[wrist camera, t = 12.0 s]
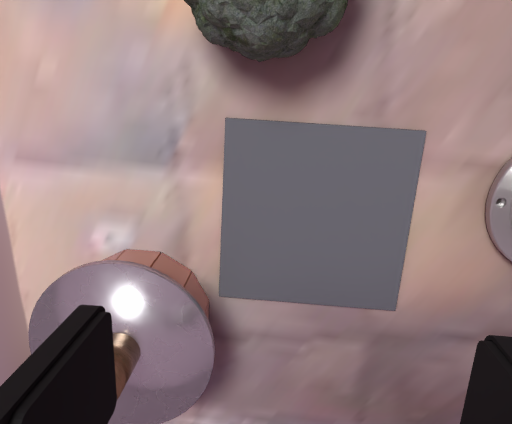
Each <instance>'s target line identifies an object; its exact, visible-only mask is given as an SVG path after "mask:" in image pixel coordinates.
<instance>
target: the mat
mask: <svg viewBox="0 0 512 424" xmlns="http://www.w3.org/2000/svg"><path fill="white" fill-rule="evenodd" d="M425 136H426V131H422V130H407V129H392V128H376V127H361V126H345V125H330V124H314V123H299V122H283V121H268V120H252V119H237V118H225V145H224V172H223V199H222V226H221V253H220V280H219V296H222V297H234V298H246V299H258V300H270V301H282V302H295V303H307V304H319V305H331V306H343V307H355V308H367V309H379V310H392V311H395V310H396V304H397V298H398V292H399V287H400V281H401V275H402V269H403V263H404V258H405V252H406V246H407V240H408V235H409V229H410V223H411V217H412V211H413V206H414V200H415V194H416V188H417V183H418V177H419V171H420V165H421V159H422V154H423V148H424V142H425Z"/></svg>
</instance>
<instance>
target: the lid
mask: <svg viewBox="0 0 512 424" xmlns="http://www.w3.org/2000/svg"><path fill="white" fill-rule="evenodd" d="M79 305H95V306H103V307H104V308H105V312H109V313H110V314H111V317H112V331H113V346H114V361H115V376H116V391H117V402H116V407H115V410H114V413H113V415H112V417H111V418H110V420H109V422H108V424H160V423H163V422H166V421H169V420H171V419H173V418H175V417H177V416H179V415H180V414H182V413H183V412H185V411H186V410H188V409H189V408H190V407H191V406H192V405H193V404H194V403H195V402H196V401H197V400H198V399H199V398H200V396H201V395H202V393H203V392H204V390H205V389H206V386H207V384H208V382H209V380H210V376H211V373H212V369H213V365H214V358H215V342H214V337H213V332H212V329H211V326H210V323H209V320H208V319H207V317H206V315H205V313H204V311H203V309H202V308H201V306H200V305H199V303H198V302H197V300H196V299H195V298H194V297H193V296H192V295H191V294H190V293H189V292H188V291H187V290H186V289H185V288H184V287H183V286H182V285H181V284H179V283H178V282H177V281H175V280H174V279H172V278H171V277H169V276H168V275H166V274H164V273H162V272H160V271H158V270H156V269H153V268H151V267H148V266H146V265H142V264H138V263H134V262H128V261H121V260H105V261H96V262H92V263H88V264H84V265H81V266H79V267H76V268H74V269H72V270H70V271H68V272H67V273H65V274H63V275H62V276H61V277H60V278H58V279H57V280H56V281H55V282H53V283H52V284H51V285H50V286H49V287H48V288H47V289H46V290H45V291H44V292H43V294H42V295H41V297H40V298H39V300H38V301H37V303H36V305H35V307H34V310H33V312H32V315H31V319H30V324H29V346H30V351H31V354H32V353H33V352H34V351H35V350H36V349H37V348H38V347H39V346H40V345H41V344H42V343H43V342H44V341H45V340H46V339H47V338H48V337H49V336H50V335H51V334H52V333H53V332H54V331H55V330H56V329H57V328H58V327H59V326H60V324H61V323H62V322H63V321H64V320H65V319H66V318H67V317H68V316H69V315H70V314H71V313H72V312H73V311H74V310H75V309H76V308H77V307H78V306H79Z"/></svg>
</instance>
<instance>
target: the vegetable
mask: <svg viewBox="0 0 512 424" xmlns="http://www.w3.org/2000/svg"><path fill="white" fill-rule="evenodd" d="M184 1H185V2H186V3H187V4H188V5H189V6H190V7H191V8H192V13H193V15H194V17H195V20H196V24H197V26H198V28H199V30H200V31H201V32H202V33H203V36H204V37H205V38H206V39H207V40H208V41H209V42H211V43H212V44H218V45H221V46H223V47H229V48H230V49H231V50H232V51H236V52H239V53H241V54H242V55H243V56H245V57H247V58H249V59H253V60H257V61H259V62H261V61H264V60H268V59H270V58H274V57H276V58H282V57H290V56H292V55H295V54H297V53H298V52H299V51H301V50H302V49H303V48H304V47H305V46H306V45H307V42H308V39H310V38H317V37H318V36H323V35H326V34H327V33H329V32H331V31H333V30H334V29H335V28H336V27H337V26H338V24H339V22H340V20H341V19H342V17H343V15H344V11H345V9H346V7H347V2H348V0H184Z"/></svg>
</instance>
